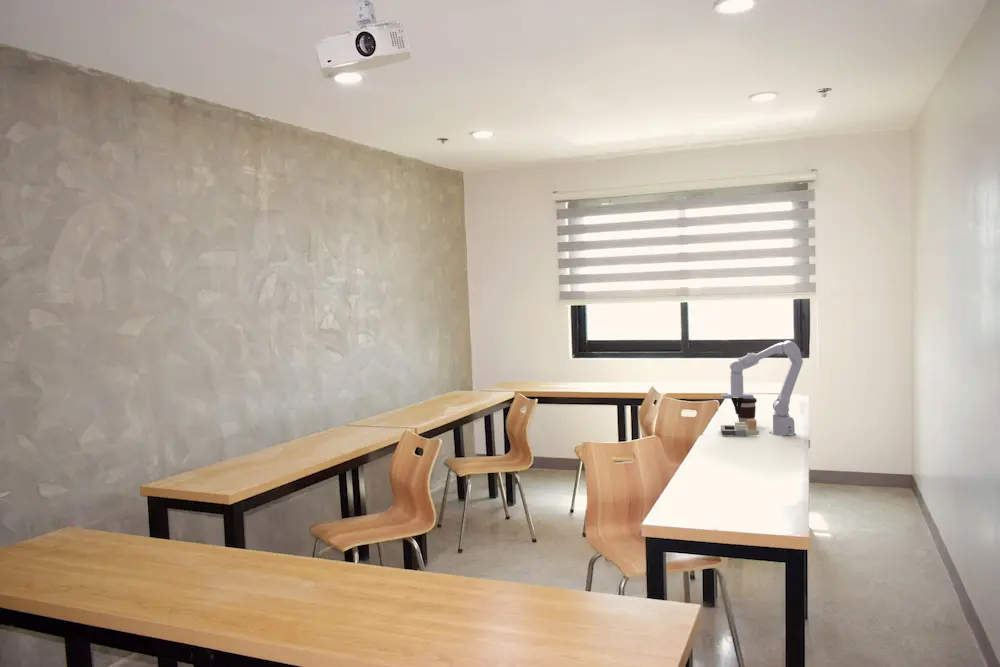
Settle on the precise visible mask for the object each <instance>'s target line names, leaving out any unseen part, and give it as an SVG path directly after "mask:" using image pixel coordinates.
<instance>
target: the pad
mask: <svg viewBox="0 0 1000 667" xmlns="http://www.w3.org/2000/svg"><path fill="white" fill-rule="evenodd" d="M758 428H759V427H757V429H747V430H745V433H746V435H760V431H759V429H758Z"/></svg>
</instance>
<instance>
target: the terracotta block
mask: <svg viewBox="0 0 1000 667" xmlns="http://www.w3.org/2000/svg"><path fill="white" fill-rule="evenodd" d="M757 423H758V422H757V419H756V418H755V419H747V429H757V428H758V425H757Z"/></svg>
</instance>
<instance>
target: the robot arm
mask: <svg viewBox="0 0 1000 667" xmlns="http://www.w3.org/2000/svg"><path fill="white" fill-rule="evenodd" d="M774 354H780V355H783V354H784V355H786V356H787V358H788V359H789V361H790V365H789V368H788V370H787V372H786V375H785V378H784V381H783V384H782V387H781V389H780V392H779V394H778V396H777V398H776V399H775V401H773V403H772V408H773V410H774V412H773V413H772V431H768V433H769V434H772V433H773V434H772V435H776V434H777V436H780V435H781V436H780V437H786V436H785V435H788V436H791V435H790V434H795V435H796V434H797V433H796V432H795V420H794V418H793V417H791V416H790V413H789V411H790V407H789V405H790V402H791V396H792V394H793V390H794V387H795V385H796V382H797V380H798V376H799V373H800V371H801V368H802V366H803V362H804V360H803V357H802V353H801V349H800V347H799V346H798V344H797V343H796V342H794V341H792V340H784V341H783V342H778V343H775V344H773V345H771V346H769V347H767V348H766V349H764V350H761V351H759V352H758V353H754V352H751V353H750V352H748V353H747V354H746V355H744V356H742V357H738V358H737V360H736V359H734V360H732V361H731V362H730V365H729V369H730V393H727V394H725V393H722V394H721V395H720V398H721V400H723V399H724V400H725V399H728V400H730V399H731V403H732V405H733V407H734V411H735V414H736V415H738V414H739V411H740V407H741V405H742V403H743V399H753V397H754V394H753V393H752V394H751V393H748V394H747V393H744V376H743V375H744V374H743V372H744V370H746V369H749V368H752V367H754V366H755V365H756V366H757V364H759V362H760V361H761V360H763V359H765V358H767V357H770V356H772V355H774ZM737 405H738V407H737Z"/></svg>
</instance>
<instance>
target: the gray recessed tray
mask: <svg viewBox="0 0 1000 667" xmlns="http://www.w3.org/2000/svg"><path fill="white" fill-rule="evenodd" d="M720 432H721V435H734V436H733V437H747V436H746V433H745V430H736V427H735V424H732V425H731V424H727V425H726V424H720ZM735 435H736V436H735Z"/></svg>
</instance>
